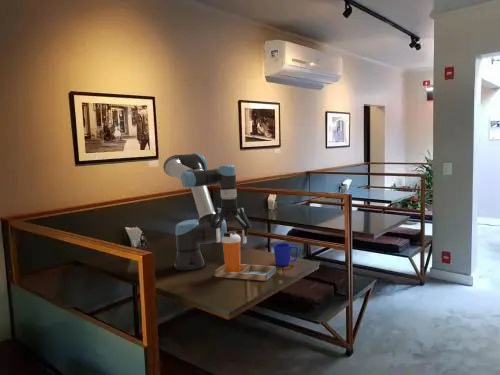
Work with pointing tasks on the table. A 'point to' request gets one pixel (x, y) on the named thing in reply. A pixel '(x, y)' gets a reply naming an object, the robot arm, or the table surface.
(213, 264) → the table surface
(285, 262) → the mug
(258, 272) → the caddy
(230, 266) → the shaker bottle
